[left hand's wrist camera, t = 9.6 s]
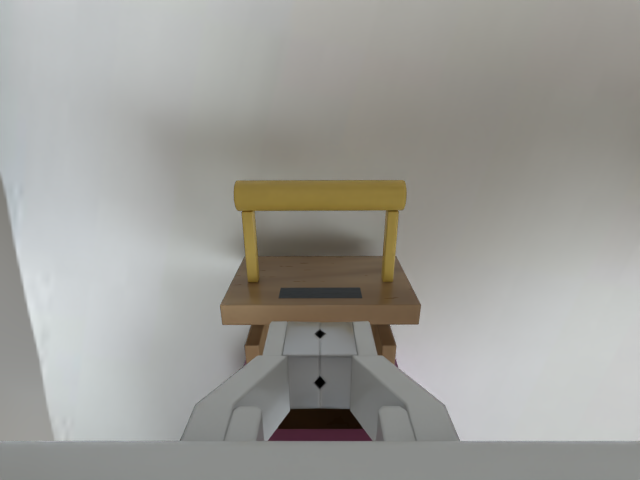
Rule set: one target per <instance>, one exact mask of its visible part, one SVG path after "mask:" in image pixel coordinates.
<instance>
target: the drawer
mask: <svg viewBox="0 0 640 480" xmlns="http://www.w3.org/2000/svg"><path fill="white" fill-rule="evenodd" d="M234 203H235V207H236V209H237V210H238V211H242V223H243V234H244V245H245V257H244V259H243V261H242V263H241V265H240V267H239V269H238V271H237V273H236V275H235V277H234V279H233V281H232V283H231V285H230V287H229V289H228V291H227V293H226V295H225V297H224V299H223V300H222V302H221V304H220V310H221V318H222V324H223V325H251V327H250V330H249V333H248V337H247V340H246V343H245V356H246V364H248V363H249V362H250V361H251V360H253V359H254V358H255V357H256V356H260V355H263V351H264V347H265V342H266V338H267V334H268V330H269V325H270V323H271V322H272V321H287V322H288V321H291V322H320V323H324V322H358V321H368V322H370V326H371V330H372V334H373V338H374V342H375V347H376V351H377V355H381V356H384V357H385V358H386V359H387V360H389V361H390V362H391V363H392V364H394V365H395V356H396V343H395V340H394V337H393V333H392V330H391V327H390V324H419V317H420V309H421V304H420V302H419V300H418V298H417V296H416V294H415V292H414V290H413V288H412V286H411V284H410V282H409V281H408V279H407V277H406V275H405V273H404V271H403V269H402V267H401V265H400V263H399V261H398V259H397V257H396V256H395V252H396V240H397V228H398V216H399V212H398V210H403V209H404V207H405V204H406V184H405V181H404V180H249V181H236V182H235V186H234ZM365 210H386V216H385V230H384V245H383V256H258V251H257V237H256V224H255V211H365ZM277 429H363V427H362V426H361V425H360V423H359V422H358V421H357V419H356V418H355V417H354V415H353V414H352V412H351V411H350V409H327V408H312V409H290V412H289V413H288V414H287V416H286V417H285V418H284V420H283V421H282V422H281V424H280V425H279V426H278V428H277Z"/></svg>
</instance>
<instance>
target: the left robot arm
mask: <svg viewBox="0 0 640 480" xmlns="http://www.w3.org/2000/svg"><path fill="white" fill-rule="evenodd" d="M312 408H327V409H350V411H351V412H352V414H353V415H354V417H355V418H356V419H357V421H358V422H359V423H360V425H361V426H362V427H363V429H364V430H365V431H366V433H367V434H368V435H369V437H370V438H371V439H372V441H268V440H269V438H270V437H271V436H272V434H273V433H274V432H275V430H276V429H277V428H278V426H279V425H280V424H281V422H282V421H283V420H284V418H285V417H286V416H287V414H288V413H289V412H290V409H312ZM0 480H640V441H460V440H459V437H458V435H457V433H456V430H455V428H454V425H453V423H452V421H451V418H450V416H449V414H448V411H447V409H446V406H445V405H444V404H443V403H442V402H440V401H439V400H438V399H437V398H435V397H434V396H433V395H431V394H430V393H429V392H428V391H426V390H425V389H424V388H423V387H421V386H420V385H419V384H418V383H416V382H415V381H414V380H413V379H411V378H410V377H409V376H408V375H406V374H405V373H404V372H403V371H401V370H400V369H399V368H398V367H396V366H395V365H394V364H392V363H391V362H390V361H389V360H387V359H386V358H385V357H384V356H381V355H377V351H376V347H375V342H374V338H373V334H372V330H371V326H370V322H368V321H358V322H324V323H320V322H291V321H288V322H287V321H272V322H271V323H270V325H269V330H268V334H267V338H266V342H265V347H264V351H263V355H260V356H256V357H255V358H254V359H253V360H251V361H250V362H249V363H248V364H246V365H245V366H244V367H242V368H241V369H240V370H239V371H237V372H236V373H235V374H234V375H232V376H231V377H230V378H229V379H227V380H226V381H225V382H223V383H222V384H221V385H220V386H218V387H217V388H216V389H215V390H213V391H212V392H211V393H210V394H208V395H207V396H206V397H205V398H203V399H202V400H201V401H199V402H198V403H197V404H196V405H195V407H194V409H193V412H192V414H191V416H190V419H189V421H188V423H187V426H186V428H185V430H184V433H183V435H182V437H181V440H180V441H0Z"/></svg>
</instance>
